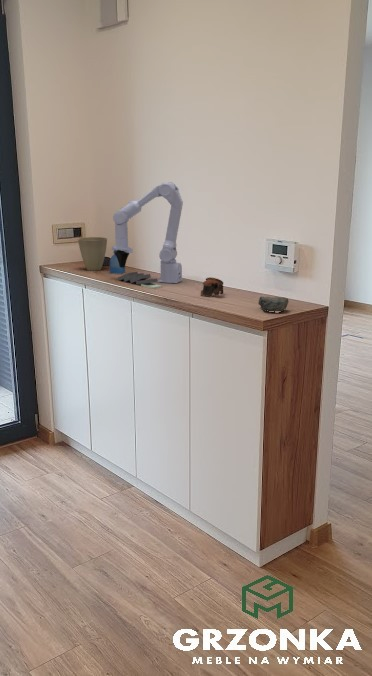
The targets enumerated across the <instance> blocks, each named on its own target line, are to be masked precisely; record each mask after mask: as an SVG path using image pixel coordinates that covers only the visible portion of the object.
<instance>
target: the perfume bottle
mask: <svg viewBox="0 0 372 676" xmlns="http://www.w3.org/2000/svg"><path fill="white" fill-rule="evenodd" d="M112 251H113V255H111V258H110V260H109V274H110V275H111V274H113V275H114V274H115V275H116V274H117V275H119V274H121V275H124V274H125V268H126V266H125V267H122V268H121V267H120V266H119V262H118V259H117V257H116V255H115V252H117V251H116V250H112Z"/></svg>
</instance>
